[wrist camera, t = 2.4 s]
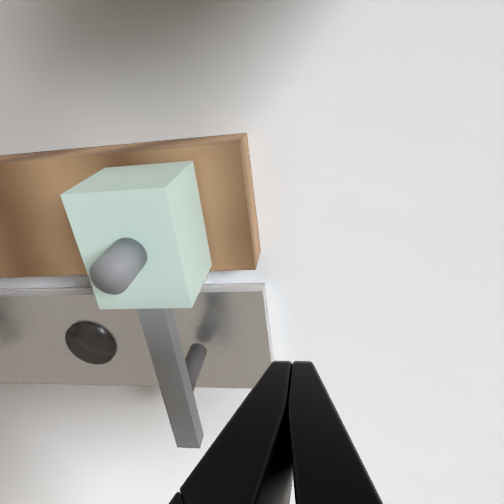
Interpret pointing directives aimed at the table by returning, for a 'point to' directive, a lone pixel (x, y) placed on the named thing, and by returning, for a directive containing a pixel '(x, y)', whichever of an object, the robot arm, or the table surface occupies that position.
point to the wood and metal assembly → (97, 158)
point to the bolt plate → (130, 337)
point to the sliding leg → (148, 266)
